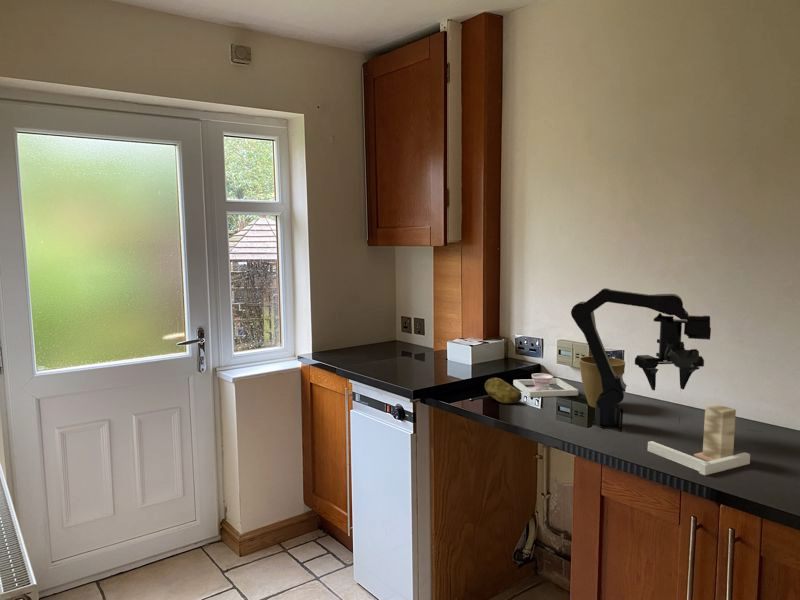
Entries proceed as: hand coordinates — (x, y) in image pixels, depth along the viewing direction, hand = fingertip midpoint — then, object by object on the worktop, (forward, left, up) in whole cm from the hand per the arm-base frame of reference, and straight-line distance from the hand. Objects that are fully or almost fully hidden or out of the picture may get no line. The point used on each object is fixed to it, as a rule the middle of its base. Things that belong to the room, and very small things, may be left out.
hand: (667, 389), depth 173 cm
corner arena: (-4, -20, -13) cm, 24 cm away
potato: (-38, +39, -13) cm, 56 cm away
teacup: (-19, +50, -13) cm, 55 cm away
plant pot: (-6, +29, -13) cm, 33 cm away
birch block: (+1, -21, -12) cm, 24 cm away
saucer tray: (-17, +52, -13) cm, 56 cm away
